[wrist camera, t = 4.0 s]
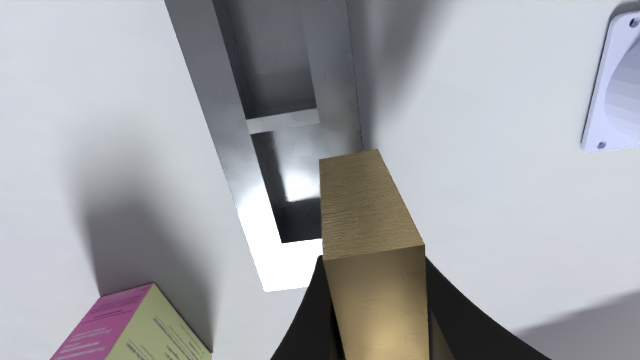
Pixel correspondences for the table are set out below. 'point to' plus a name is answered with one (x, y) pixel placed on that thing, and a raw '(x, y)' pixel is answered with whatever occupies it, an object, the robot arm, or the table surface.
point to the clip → (372, 260)
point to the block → (274, 115)
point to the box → (132, 330)
